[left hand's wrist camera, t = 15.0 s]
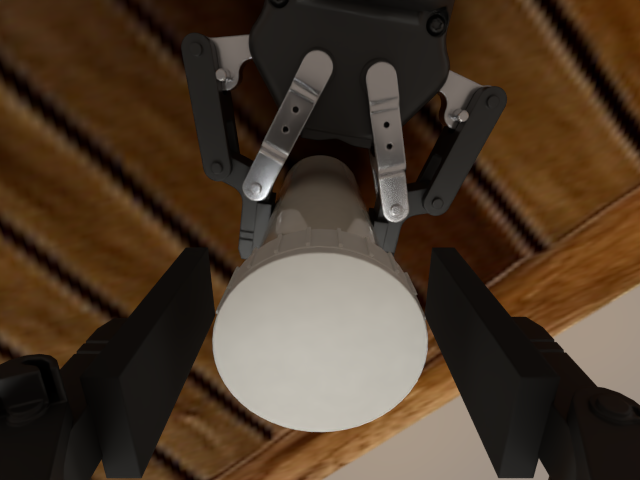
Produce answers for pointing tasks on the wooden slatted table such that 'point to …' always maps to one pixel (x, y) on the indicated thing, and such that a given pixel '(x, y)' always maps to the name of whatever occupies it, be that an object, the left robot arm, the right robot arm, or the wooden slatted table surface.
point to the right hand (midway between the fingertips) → (312, 272)
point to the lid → (320, 331)
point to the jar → (320, 201)
